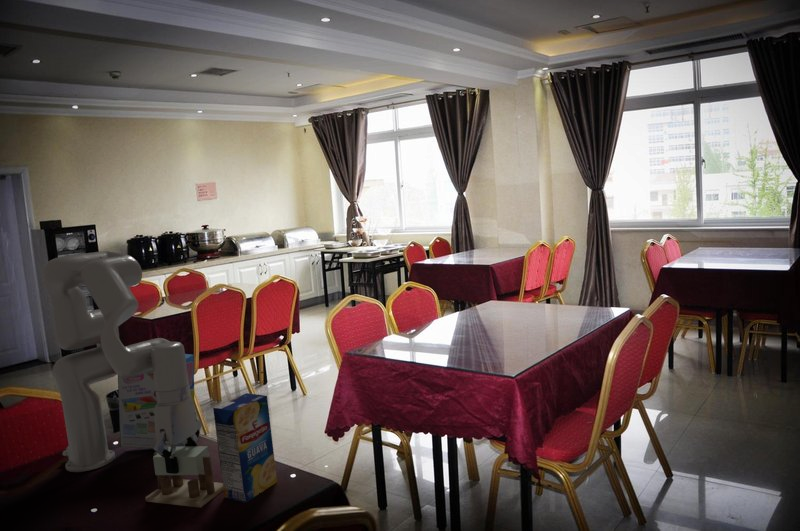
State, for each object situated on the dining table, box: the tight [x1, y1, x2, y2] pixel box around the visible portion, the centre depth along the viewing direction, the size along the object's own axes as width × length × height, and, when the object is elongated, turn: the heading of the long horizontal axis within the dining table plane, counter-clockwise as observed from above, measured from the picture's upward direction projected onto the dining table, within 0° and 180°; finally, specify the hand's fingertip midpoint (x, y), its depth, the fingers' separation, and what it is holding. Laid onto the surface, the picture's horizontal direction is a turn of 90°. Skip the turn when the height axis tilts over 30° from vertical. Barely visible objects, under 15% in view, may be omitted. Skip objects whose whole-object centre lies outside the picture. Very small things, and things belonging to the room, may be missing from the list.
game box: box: [117, 353, 196, 450], centre depth 179 cm, size 21×6×27 cm, turn 84°
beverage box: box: [212, 392, 278, 503], centre depth 149 cm, size 7×11×22 cm, turn 149°
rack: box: [145, 451, 224, 508], centre depth 150 cm, size 16×10×10 cm, turn 70°
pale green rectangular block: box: [152, 445, 210, 476], centre depth 150 cm, size 11×6×4 cm, turn 80°
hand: (183, 465), depth 150 cm, fingers closed on pale green rectangular block, 6 cm apart
